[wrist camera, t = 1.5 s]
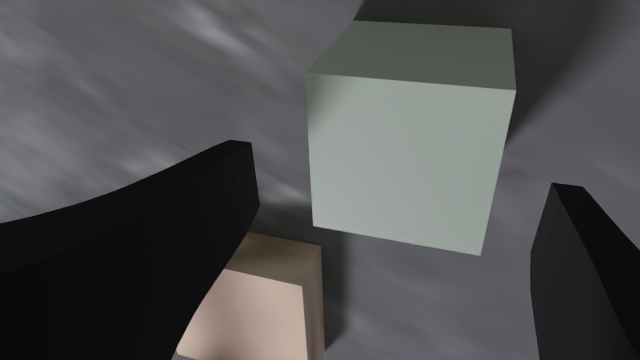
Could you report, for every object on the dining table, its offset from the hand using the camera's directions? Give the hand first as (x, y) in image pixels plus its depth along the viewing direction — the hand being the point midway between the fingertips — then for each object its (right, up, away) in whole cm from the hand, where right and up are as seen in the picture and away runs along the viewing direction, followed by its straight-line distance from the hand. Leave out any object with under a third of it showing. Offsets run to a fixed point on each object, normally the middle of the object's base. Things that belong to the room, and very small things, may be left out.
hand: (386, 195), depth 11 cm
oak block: (-5, -5, +14) cm, 16 cm away
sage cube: (+2, +3, +5) cm, 6 cm away
